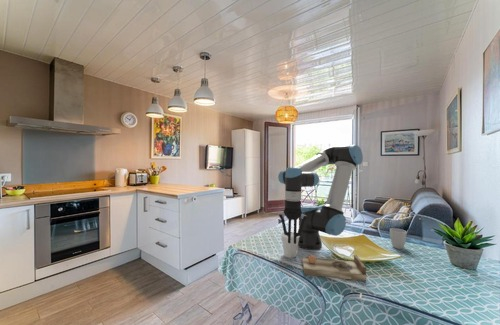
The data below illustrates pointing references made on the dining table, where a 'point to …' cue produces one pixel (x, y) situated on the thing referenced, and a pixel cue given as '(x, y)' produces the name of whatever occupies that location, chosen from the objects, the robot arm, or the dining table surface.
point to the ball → (312, 259)
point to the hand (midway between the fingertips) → (291, 250)
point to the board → (336, 268)
